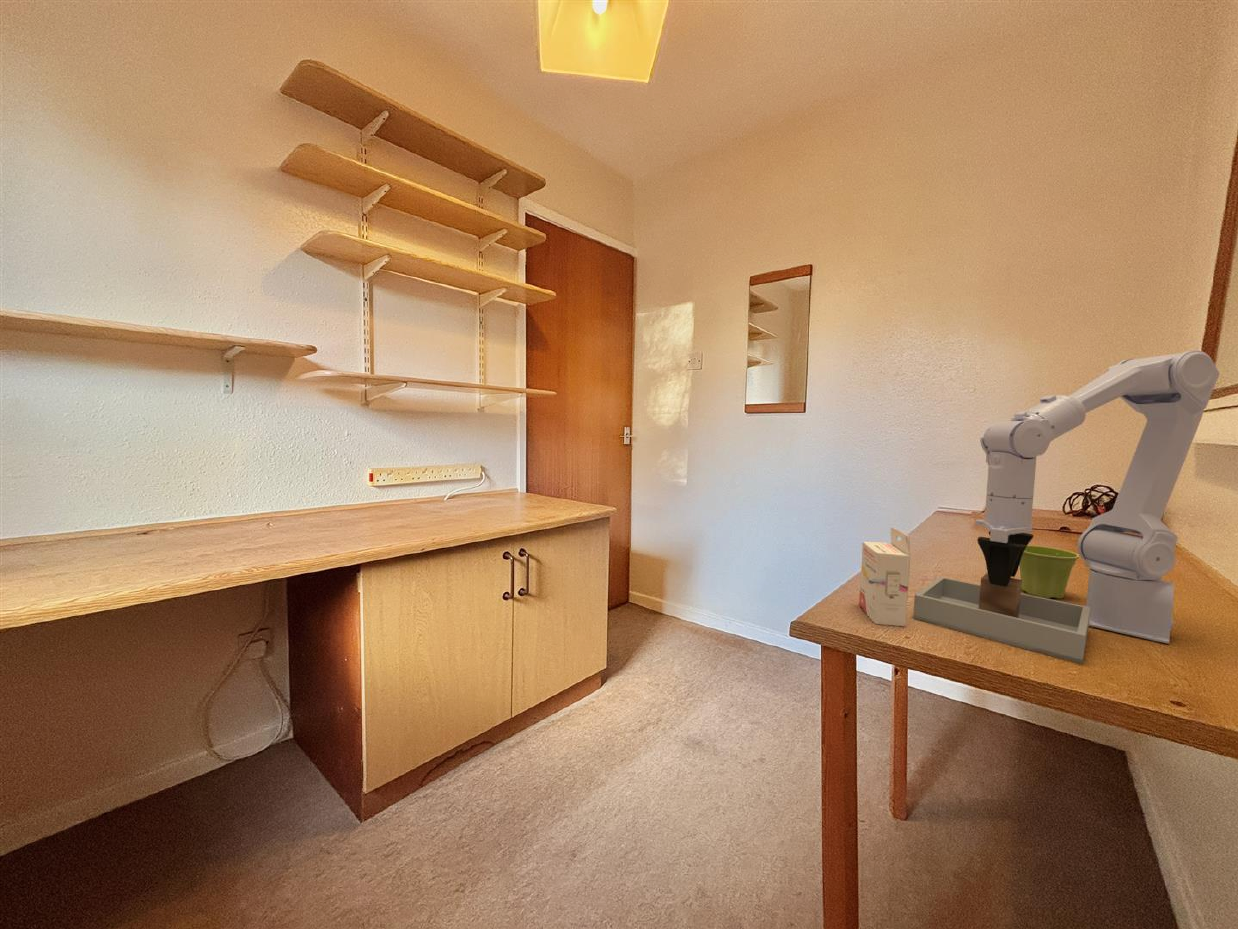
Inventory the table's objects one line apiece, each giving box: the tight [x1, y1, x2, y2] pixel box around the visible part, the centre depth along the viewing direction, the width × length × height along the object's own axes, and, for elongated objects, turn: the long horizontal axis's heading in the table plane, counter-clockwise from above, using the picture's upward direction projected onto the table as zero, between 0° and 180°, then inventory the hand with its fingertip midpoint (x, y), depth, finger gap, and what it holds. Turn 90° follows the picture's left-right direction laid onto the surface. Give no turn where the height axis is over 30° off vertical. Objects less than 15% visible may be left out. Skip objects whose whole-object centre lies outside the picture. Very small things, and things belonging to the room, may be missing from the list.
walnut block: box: [979, 572, 1022, 618], centre depth 75 cm, size 4×4×7 cm
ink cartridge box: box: [858, 526, 911, 627], centre depth 78 cm, size 9×5×15 cm, turn 168°
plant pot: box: [1019, 544, 1081, 600], centre depth 91 cm, size 9×9×9 cm
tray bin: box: [912, 576, 1090, 665], centre depth 75 cm, size 20×16×4 cm
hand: (1002, 580), depth 75 cm, fingers open, 7 cm apart
